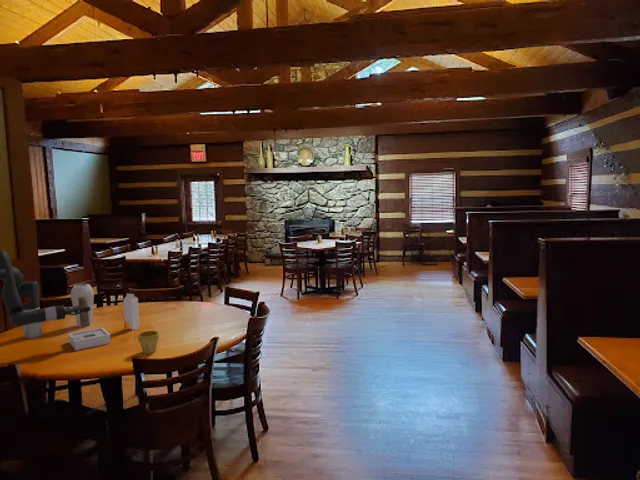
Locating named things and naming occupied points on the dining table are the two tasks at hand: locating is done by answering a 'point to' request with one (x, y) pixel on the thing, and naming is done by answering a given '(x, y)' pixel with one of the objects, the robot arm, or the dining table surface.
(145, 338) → the plant pot
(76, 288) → the vase
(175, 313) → the dining table surface
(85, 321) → the peg
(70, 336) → the tray
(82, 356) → the dining table surface
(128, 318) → the milk
